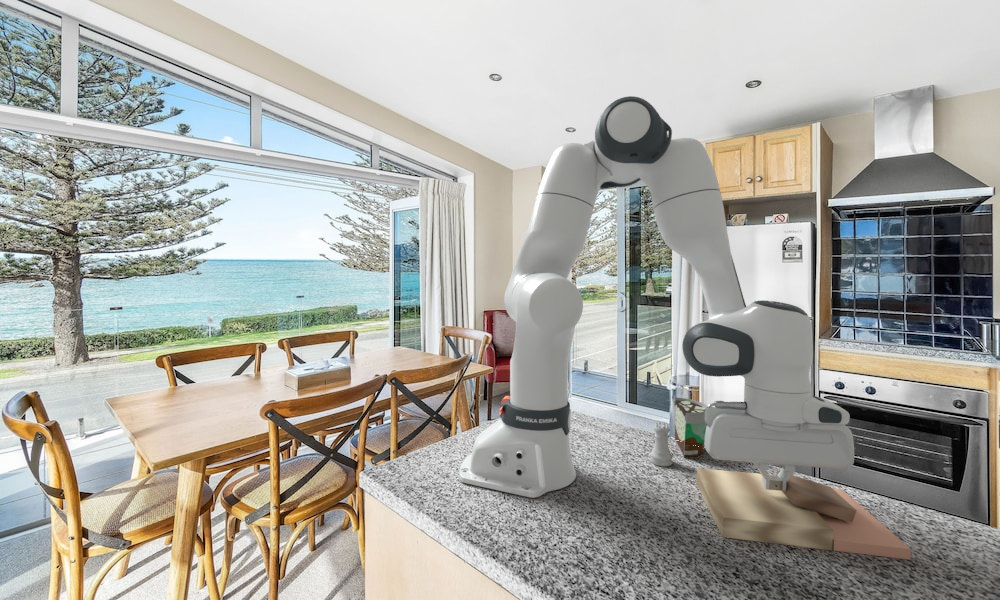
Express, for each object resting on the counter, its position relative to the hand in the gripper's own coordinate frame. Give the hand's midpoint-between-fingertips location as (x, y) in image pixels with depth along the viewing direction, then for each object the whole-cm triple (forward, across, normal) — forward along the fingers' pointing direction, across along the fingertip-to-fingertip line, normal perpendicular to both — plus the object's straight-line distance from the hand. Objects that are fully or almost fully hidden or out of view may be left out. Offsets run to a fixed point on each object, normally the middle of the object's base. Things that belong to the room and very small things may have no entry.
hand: (773, 488), depth 67 cm
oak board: (+4, -3, 0) cm, 5 cm away
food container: (+4, -7, +24) cm, 25 cm away
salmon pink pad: (+4, +9, 0) cm, 10 cm away
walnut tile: (+2, +5, 0) cm, 6 cm away
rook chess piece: (+4, -15, +16) cm, 22 cm away
